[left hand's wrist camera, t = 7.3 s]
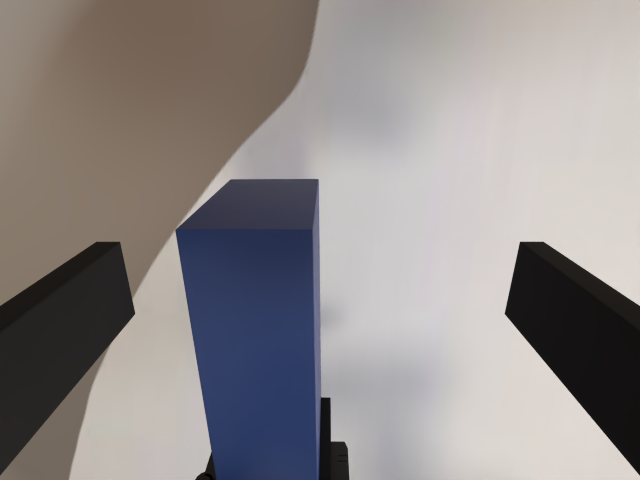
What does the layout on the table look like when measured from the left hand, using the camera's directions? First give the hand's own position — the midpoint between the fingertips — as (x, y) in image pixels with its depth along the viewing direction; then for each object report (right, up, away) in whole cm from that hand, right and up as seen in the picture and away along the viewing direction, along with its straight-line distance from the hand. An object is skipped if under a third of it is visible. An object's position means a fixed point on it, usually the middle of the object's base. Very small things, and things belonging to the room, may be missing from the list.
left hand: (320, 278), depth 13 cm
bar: (-3, -5, +15) cm, 16 cm away
